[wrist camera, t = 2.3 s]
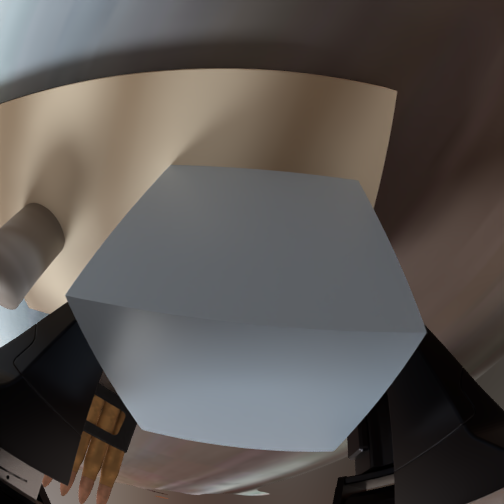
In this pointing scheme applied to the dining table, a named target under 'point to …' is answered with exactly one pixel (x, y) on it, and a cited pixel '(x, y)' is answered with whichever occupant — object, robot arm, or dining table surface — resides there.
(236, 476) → the dining table surface
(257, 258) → the pale grey cube
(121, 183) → the stub board
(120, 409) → the ammunition clip
